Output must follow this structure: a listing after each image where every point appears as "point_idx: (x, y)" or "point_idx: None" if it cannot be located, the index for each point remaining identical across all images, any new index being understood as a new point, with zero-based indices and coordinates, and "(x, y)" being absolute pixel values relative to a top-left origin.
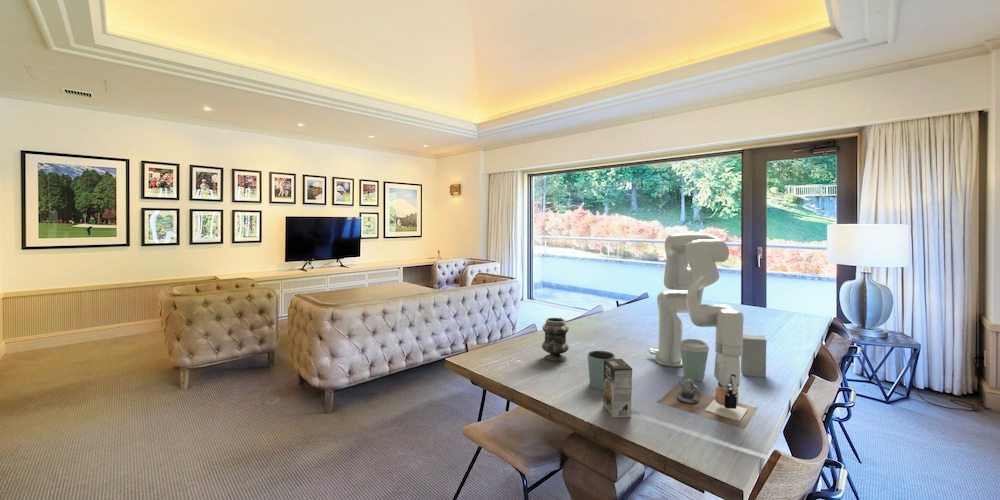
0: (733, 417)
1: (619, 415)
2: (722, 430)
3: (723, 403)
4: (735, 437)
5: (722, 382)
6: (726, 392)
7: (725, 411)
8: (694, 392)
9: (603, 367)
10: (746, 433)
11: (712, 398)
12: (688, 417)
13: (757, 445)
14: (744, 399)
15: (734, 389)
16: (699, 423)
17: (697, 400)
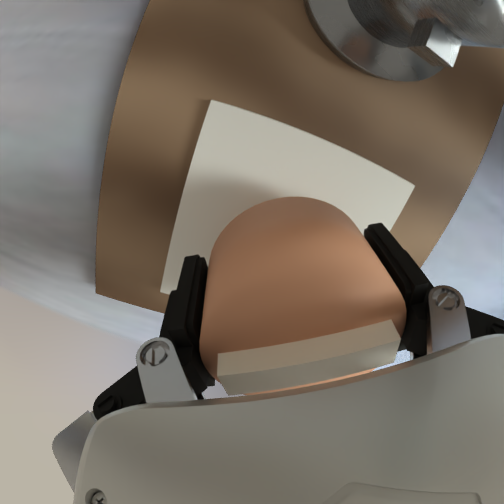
0: (176, 267)
1: None
2: (56, 198)
3: (211, 258)
4: (36, 245)
5: (96, 457)
6: (164, 364)
7: None
8: (488, 97)
9: None
10: (95, 287)
11: (438, 181)
12: (117, 14)
13: (40, 302)
14: None
15: (57, 447)
16: (67, 84)
17: (352, 61)
